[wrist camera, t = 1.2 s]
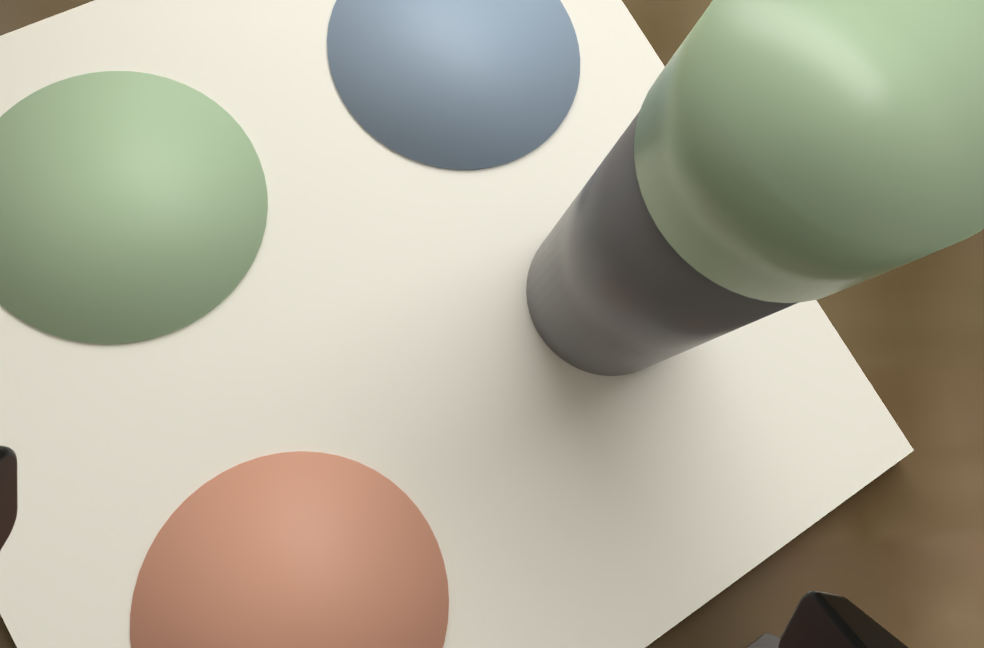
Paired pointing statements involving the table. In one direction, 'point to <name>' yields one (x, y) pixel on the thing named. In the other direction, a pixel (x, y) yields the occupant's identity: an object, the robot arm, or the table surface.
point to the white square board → (363, 342)
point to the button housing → (766, 642)
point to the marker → (769, 175)
